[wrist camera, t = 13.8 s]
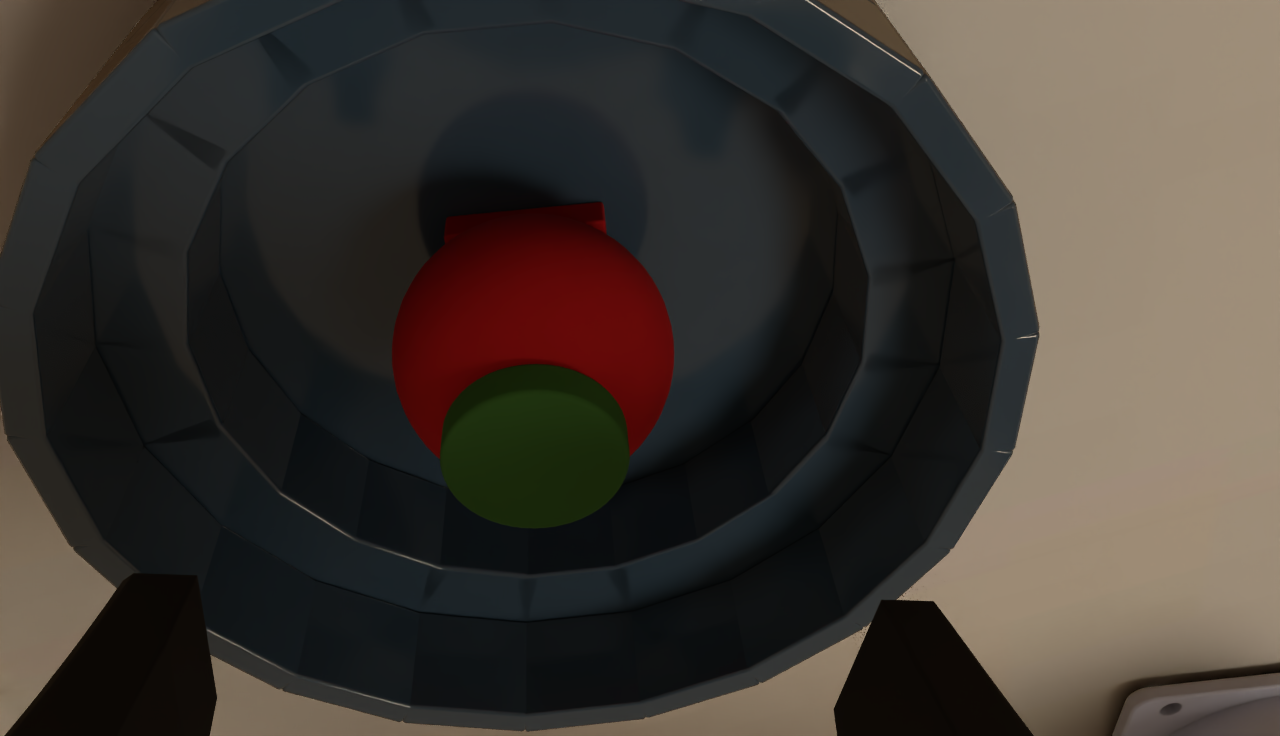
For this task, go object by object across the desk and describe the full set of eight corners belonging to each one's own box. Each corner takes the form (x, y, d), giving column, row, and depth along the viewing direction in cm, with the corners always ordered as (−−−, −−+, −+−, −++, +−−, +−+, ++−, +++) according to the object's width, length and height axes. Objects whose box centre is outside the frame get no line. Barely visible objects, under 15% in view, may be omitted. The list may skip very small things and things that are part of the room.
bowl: (982, -220, 13) (1142, -132, 10) (893, 496, 22) (965, 685, 18) (-51, -131, 13) (-260, -6, 10) (254, 563, 21) (199, 768, 18)
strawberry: (652, 147, 16) (686, 321, 12) (665, 359, 18) (696, 554, 15) (381, 173, 16) (338, 356, 12) (431, 382, 18) (409, 584, 15)
